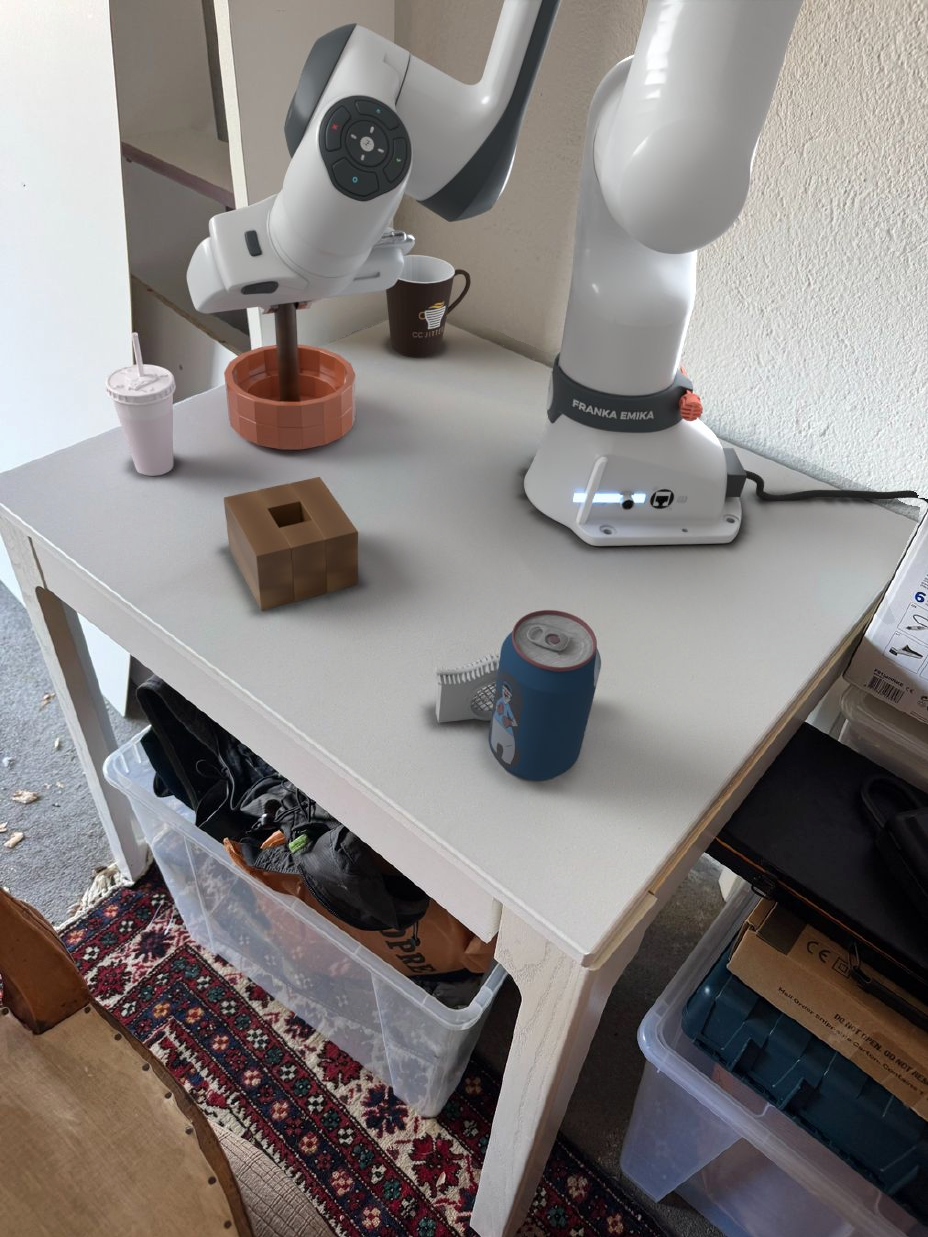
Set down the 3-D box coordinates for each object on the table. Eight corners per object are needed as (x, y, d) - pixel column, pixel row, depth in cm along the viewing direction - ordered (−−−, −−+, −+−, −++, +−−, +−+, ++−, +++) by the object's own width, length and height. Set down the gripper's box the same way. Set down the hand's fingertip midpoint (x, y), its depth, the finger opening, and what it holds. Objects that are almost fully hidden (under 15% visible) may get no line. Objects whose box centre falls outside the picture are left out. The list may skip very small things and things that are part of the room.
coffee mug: (387, 362, 115) (389, 283, 108) (378, 331, 121) (379, 254, 114) (478, 360, 117) (485, 282, 111) (464, 330, 123) (470, 254, 117)
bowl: (362, 398, 108) (363, 350, 104) (344, 462, 98) (343, 411, 94) (246, 386, 108) (242, 338, 104) (215, 449, 98) (209, 398, 94)
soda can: (589, 738, 72) (619, 624, 64) (559, 803, 67) (587, 688, 59) (507, 706, 73) (525, 591, 65) (472, 767, 69) (487, 652, 61)
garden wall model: (575, 694, 75) (588, 641, 71) (582, 711, 74) (595, 658, 70) (430, 711, 72) (434, 657, 69) (435, 728, 71) (439, 674, 67)
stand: (321, 529, 89) (319, 476, 85) (358, 584, 83) (358, 531, 79) (229, 551, 85) (223, 497, 81) (261, 611, 80) (256, 556, 76)
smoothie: (195, 452, 97) (178, 325, 87) (175, 486, 92) (154, 356, 83) (135, 445, 97) (111, 317, 88) (111, 479, 92) (83, 347, 83)
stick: (302, 412, 103) (293, 206, 88) (298, 422, 101) (288, 214, 87) (283, 410, 103) (270, 204, 88) (278, 420, 101) (265, 212, 87)
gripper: (412, 198, 86) (368, 263, 98) (191, 217, 77) (174, 285, 90) (430, 265, 86) (384, 321, 98) (212, 290, 78) (192, 348, 90)
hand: (282, 304), depth 94 cm, fingers closed on stick, 2 cm apart
